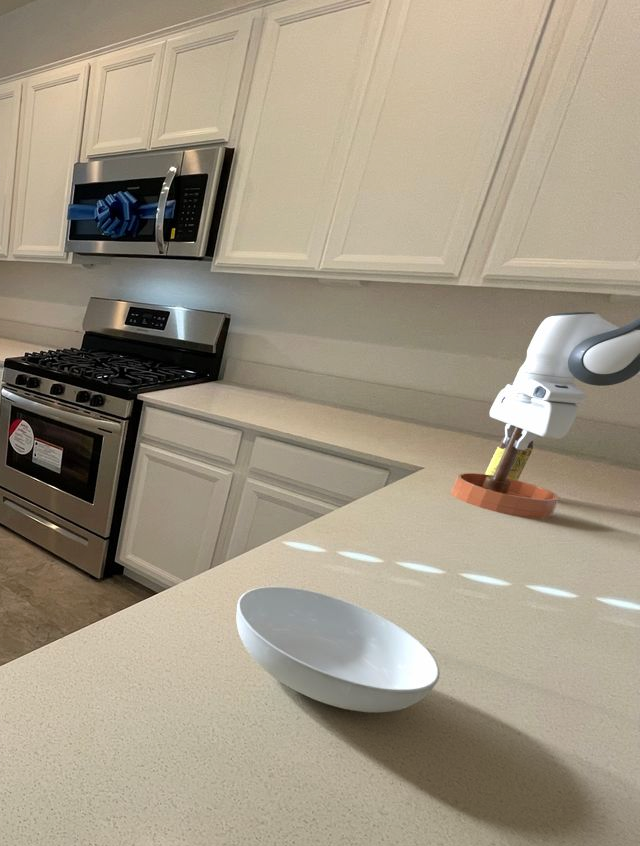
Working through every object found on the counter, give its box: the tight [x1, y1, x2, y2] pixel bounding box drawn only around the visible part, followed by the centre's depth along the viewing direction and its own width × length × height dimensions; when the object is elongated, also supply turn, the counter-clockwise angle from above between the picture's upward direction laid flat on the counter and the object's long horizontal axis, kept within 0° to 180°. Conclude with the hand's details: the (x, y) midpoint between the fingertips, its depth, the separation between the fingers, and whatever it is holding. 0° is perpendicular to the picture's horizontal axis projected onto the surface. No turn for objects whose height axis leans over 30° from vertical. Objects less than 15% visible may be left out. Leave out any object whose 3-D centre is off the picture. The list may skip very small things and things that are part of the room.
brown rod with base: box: [482, 427, 523, 493], centre depth 134 cm, size 4×4×17 cm
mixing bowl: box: [449, 472, 561, 520], centre depth 135 cm, size 17×17×6 cm
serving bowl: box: [235, 586, 440, 713], centre depth 73 cm, size 21×21×7 cm
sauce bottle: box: [484, 435, 534, 481], centre depth 148 cm, size 7×6×20 cm
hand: (513, 446), depth 133 cm, fingers closed on brown rod with base, 2 cm apart
